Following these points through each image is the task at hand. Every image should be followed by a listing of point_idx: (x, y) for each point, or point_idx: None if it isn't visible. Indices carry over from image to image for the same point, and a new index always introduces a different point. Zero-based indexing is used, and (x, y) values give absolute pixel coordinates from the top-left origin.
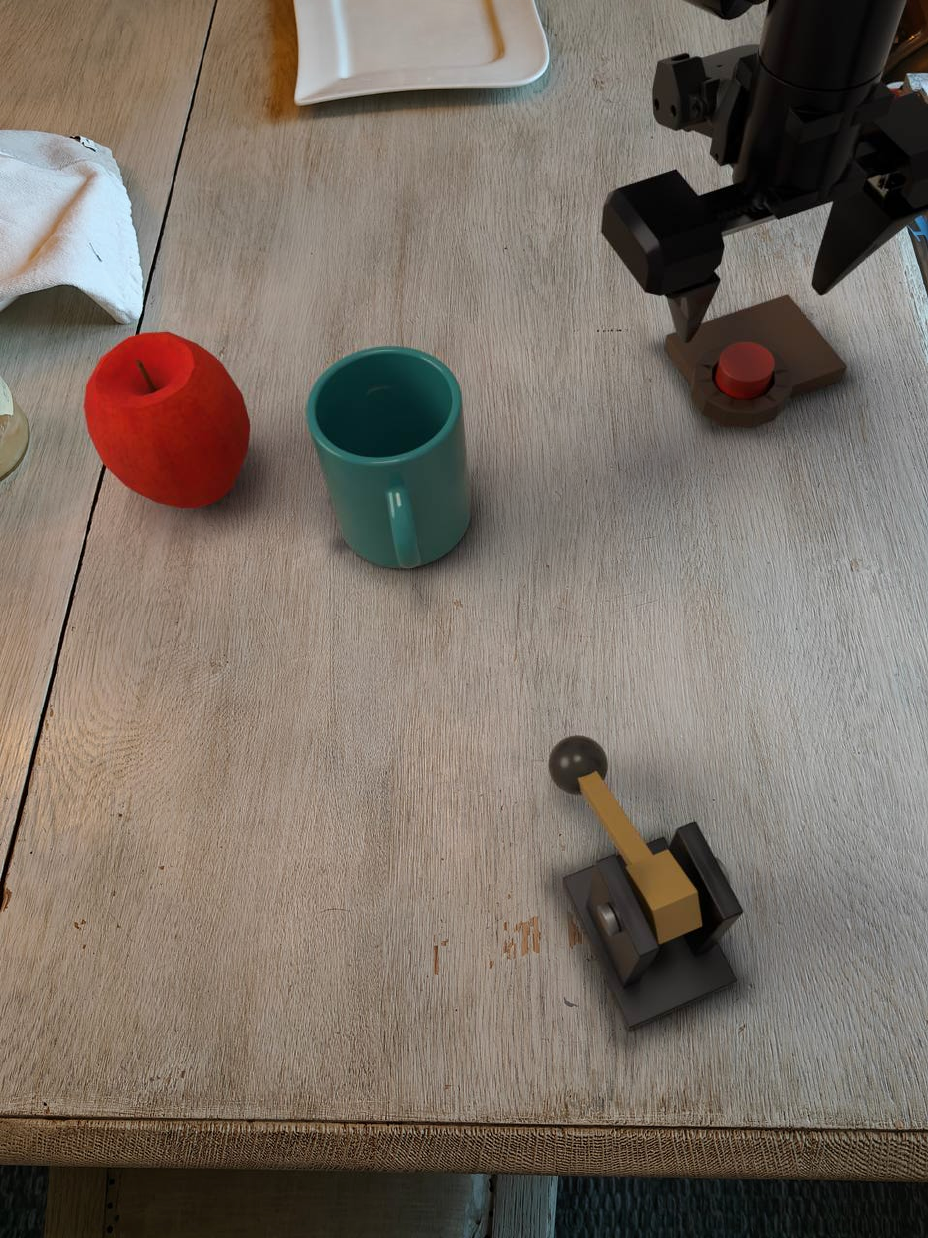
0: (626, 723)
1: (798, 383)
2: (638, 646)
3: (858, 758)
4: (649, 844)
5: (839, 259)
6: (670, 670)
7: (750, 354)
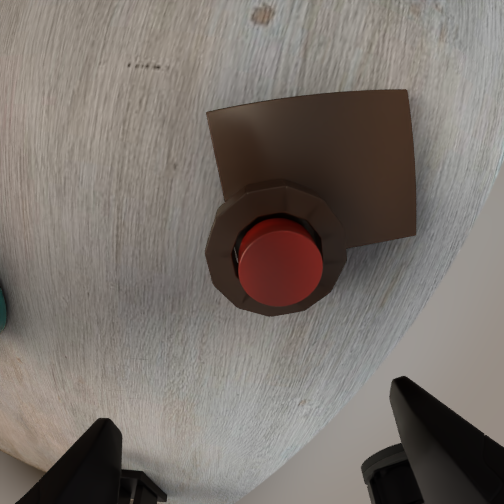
0: (124, 440)
1: (353, 246)
2: (131, 416)
3: (246, 469)
4: (134, 479)
5: (423, 475)
6: (150, 430)
7: (291, 259)
